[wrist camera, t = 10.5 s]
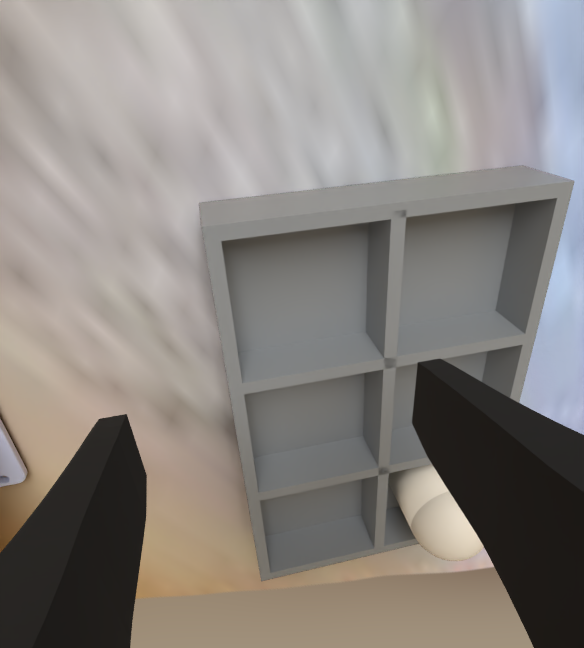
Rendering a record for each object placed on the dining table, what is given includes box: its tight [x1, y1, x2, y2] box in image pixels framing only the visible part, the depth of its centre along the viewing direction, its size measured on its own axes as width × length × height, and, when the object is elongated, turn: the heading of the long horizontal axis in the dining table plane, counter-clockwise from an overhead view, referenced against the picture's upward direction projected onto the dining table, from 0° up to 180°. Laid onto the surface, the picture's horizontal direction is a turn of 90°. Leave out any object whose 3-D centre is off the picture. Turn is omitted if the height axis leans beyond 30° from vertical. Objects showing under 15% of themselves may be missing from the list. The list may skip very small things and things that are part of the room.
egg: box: [388, 464, 484, 561], centre depth 26 cm, size 4×4×6 cm
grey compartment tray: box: [199, 166, 574, 581], centre depth 24 cm, size 15×22×3 cm
